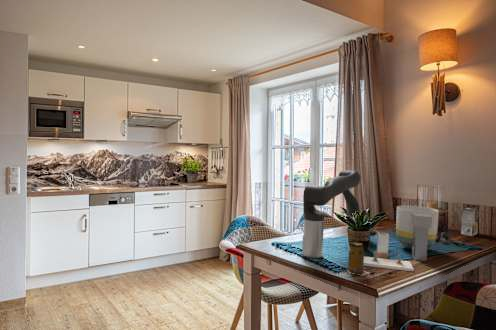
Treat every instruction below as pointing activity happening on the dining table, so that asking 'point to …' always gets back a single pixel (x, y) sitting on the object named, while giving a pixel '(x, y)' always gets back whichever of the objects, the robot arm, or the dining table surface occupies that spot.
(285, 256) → the dining table surface
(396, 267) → the pin board
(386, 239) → the sleeve
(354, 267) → the condiment
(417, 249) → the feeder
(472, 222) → the coffee box
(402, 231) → the planter
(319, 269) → the dining table surface
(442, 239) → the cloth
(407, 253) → the dining table surface
